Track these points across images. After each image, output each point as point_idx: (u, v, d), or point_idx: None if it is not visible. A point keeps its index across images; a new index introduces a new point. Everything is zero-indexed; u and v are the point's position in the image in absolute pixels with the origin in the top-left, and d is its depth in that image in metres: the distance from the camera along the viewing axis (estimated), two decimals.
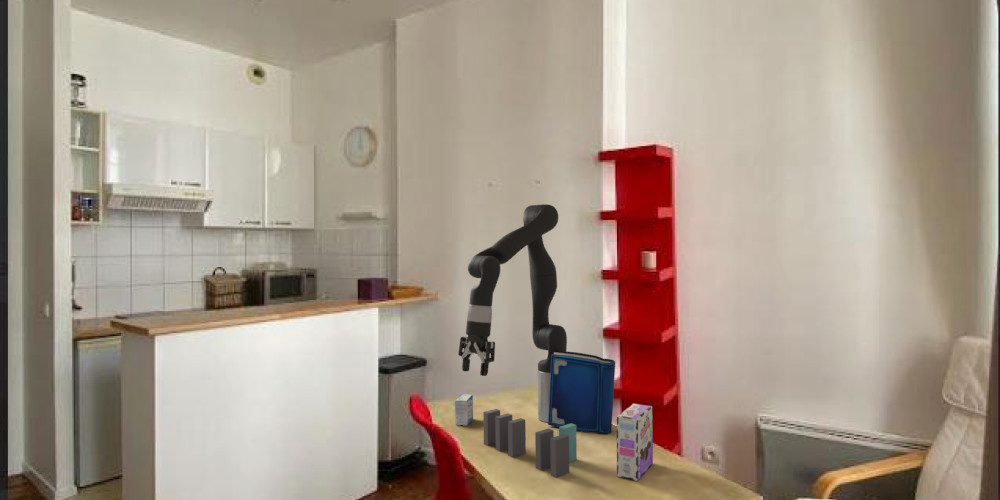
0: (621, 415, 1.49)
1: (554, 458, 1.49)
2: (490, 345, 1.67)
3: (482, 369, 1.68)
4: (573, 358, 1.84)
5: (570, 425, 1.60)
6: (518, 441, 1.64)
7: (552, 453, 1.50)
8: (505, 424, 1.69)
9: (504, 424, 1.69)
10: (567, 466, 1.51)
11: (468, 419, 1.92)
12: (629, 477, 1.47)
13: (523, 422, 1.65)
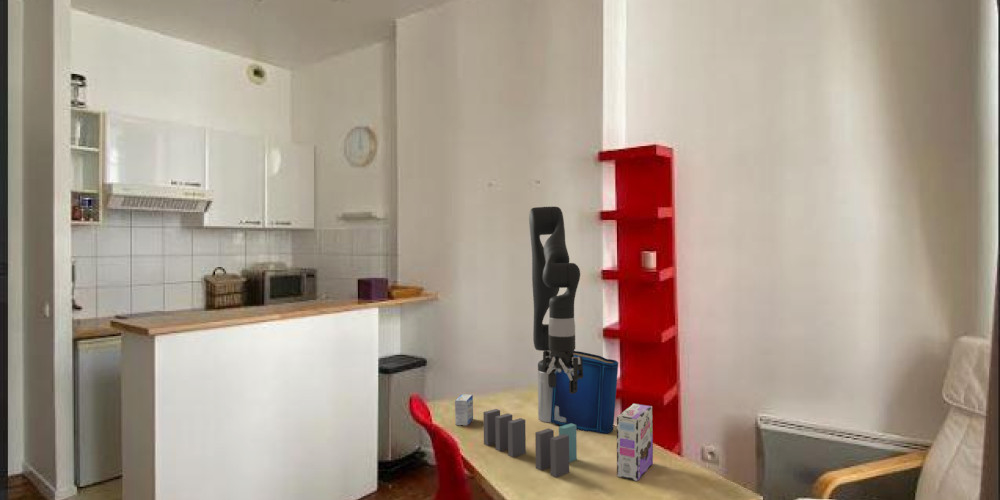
0: (621, 415, 1.49)
1: (554, 458, 1.49)
2: (577, 361, 1.54)
3: (571, 387, 1.55)
4: None
5: (570, 425, 1.60)
6: (518, 441, 1.64)
7: (552, 453, 1.50)
8: (505, 424, 1.69)
9: (504, 424, 1.69)
10: (567, 466, 1.51)
11: (468, 419, 1.92)
12: (629, 477, 1.47)
13: (523, 422, 1.65)
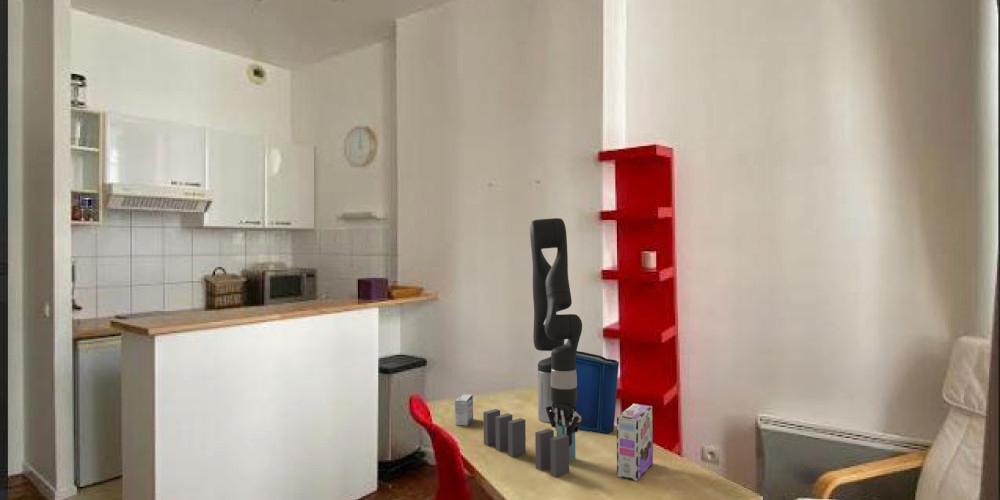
0: (621, 415, 1.49)
1: (554, 458, 1.49)
2: (577, 421, 1.54)
3: None
4: (576, 357, 1.86)
5: None
6: (518, 441, 1.64)
7: (552, 453, 1.50)
8: (505, 424, 1.69)
9: (504, 424, 1.69)
10: (567, 466, 1.51)
11: (468, 419, 1.92)
12: (629, 477, 1.47)
13: (523, 422, 1.65)
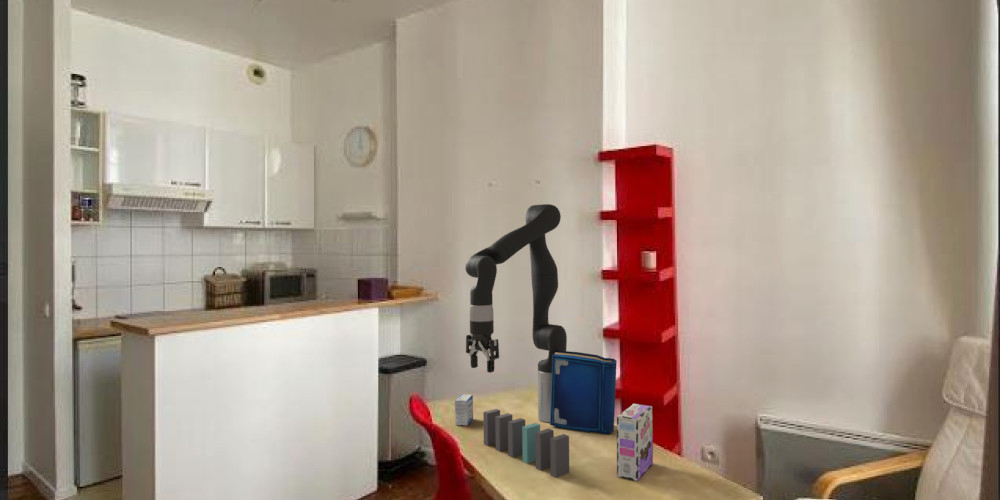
0: (621, 415, 1.49)
1: (554, 458, 1.49)
2: (493, 343, 1.72)
3: (488, 366, 1.74)
4: (575, 357, 1.84)
5: (534, 425, 1.61)
6: (518, 441, 1.64)
7: (552, 453, 1.50)
8: (505, 424, 1.69)
9: (504, 424, 1.69)
10: (567, 466, 1.51)
11: (468, 419, 1.92)
12: (629, 477, 1.47)
13: (523, 422, 1.65)
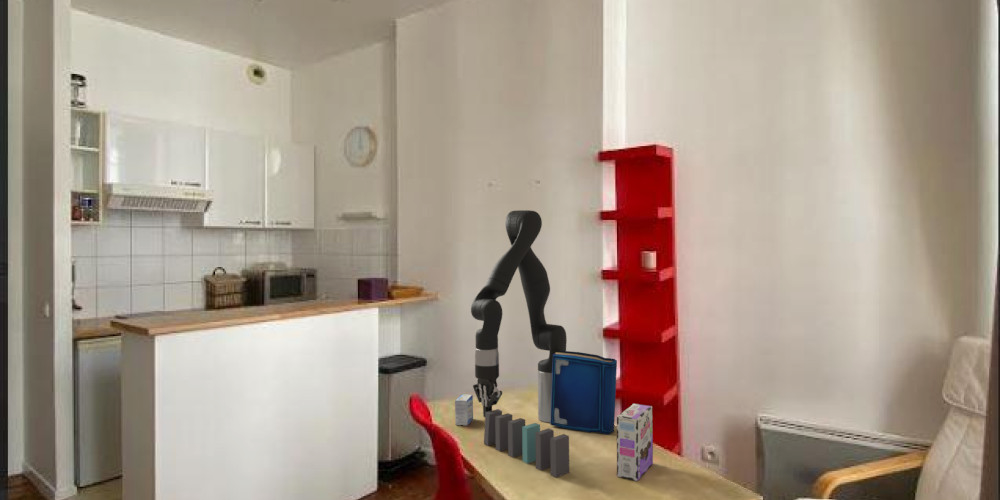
0: (621, 415, 1.49)
1: (554, 458, 1.49)
2: (496, 396, 1.71)
3: None
4: (575, 357, 1.84)
5: (534, 425, 1.61)
6: (518, 441, 1.64)
7: (552, 453, 1.50)
8: (505, 424, 1.69)
9: (504, 424, 1.69)
10: (567, 466, 1.51)
11: (468, 419, 1.92)
12: (629, 477, 1.47)
13: (523, 422, 1.65)
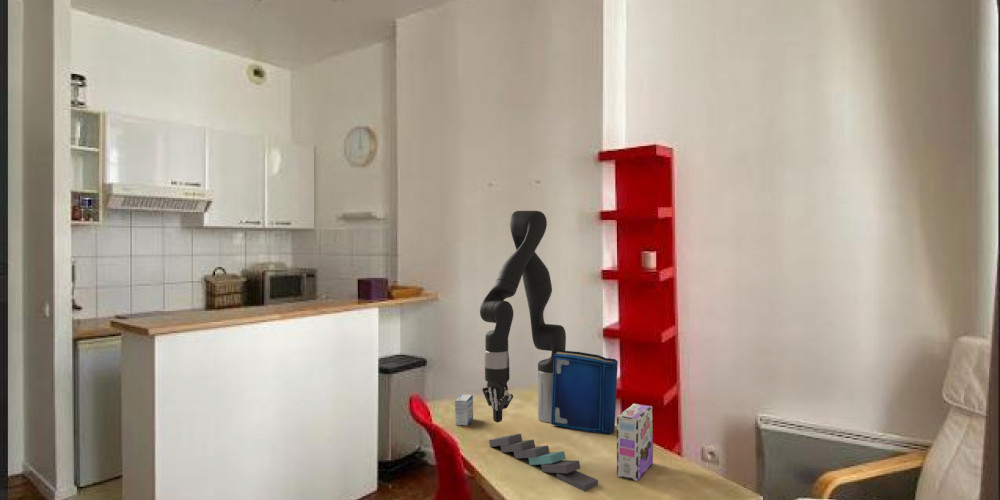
0: (621, 415, 1.49)
1: (570, 484, 1.44)
2: (507, 399, 1.67)
3: (496, 416, 1.71)
4: (576, 357, 1.84)
5: (560, 457, 1.52)
6: None
7: (573, 483, 1.44)
8: None
9: None
10: None
11: (468, 419, 1.92)
12: (629, 477, 1.47)
13: (546, 453, 1.57)
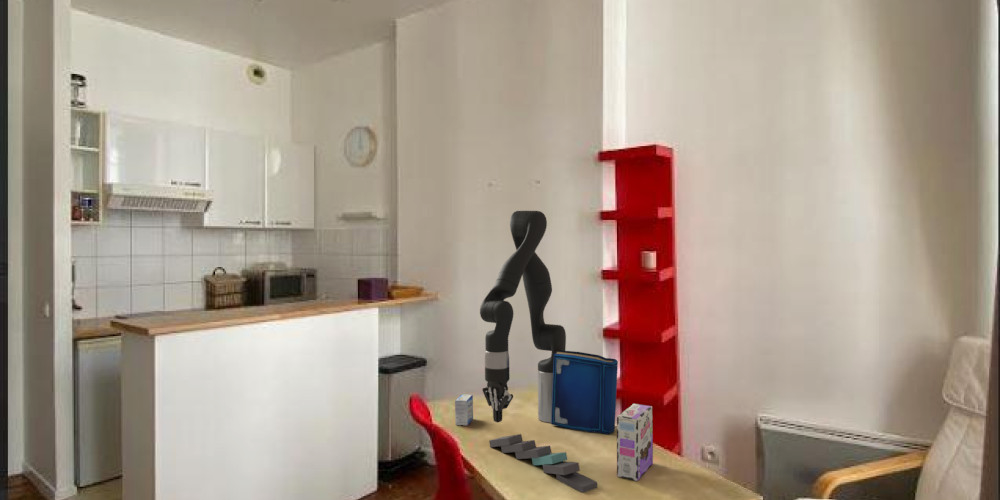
0: (621, 415, 1.49)
1: (569, 485, 1.44)
2: (507, 399, 1.67)
3: (496, 416, 1.71)
4: (576, 357, 1.84)
5: (562, 458, 1.51)
6: None
7: (572, 484, 1.43)
8: None
9: None
10: None
11: (468, 419, 1.92)
12: (629, 477, 1.47)
13: (548, 453, 1.57)
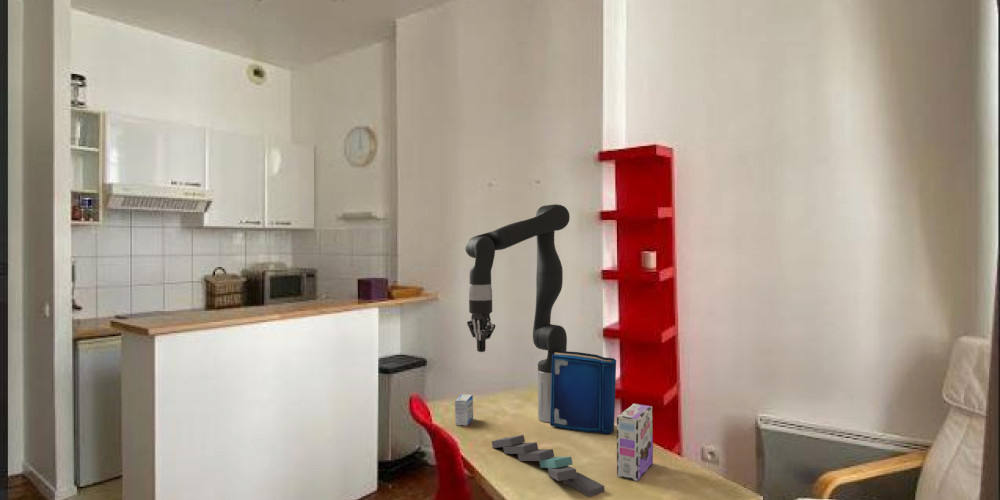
0: (621, 415, 1.49)
1: None
2: (490, 329, 1.77)
3: (480, 346, 1.81)
4: (574, 357, 1.84)
5: (566, 462, 1.48)
6: None
7: (578, 488, 1.41)
8: None
9: None
10: None
11: (468, 419, 1.92)
12: (629, 477, 1.47)
13: (550, 457, 1.56)
